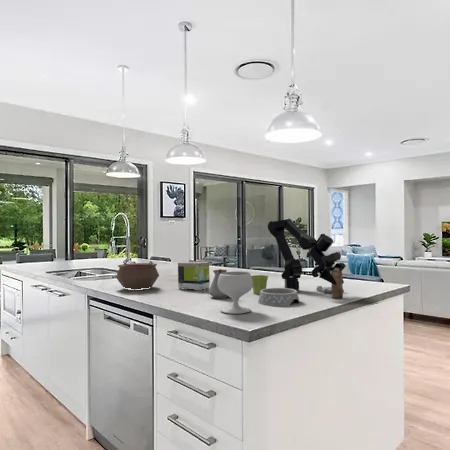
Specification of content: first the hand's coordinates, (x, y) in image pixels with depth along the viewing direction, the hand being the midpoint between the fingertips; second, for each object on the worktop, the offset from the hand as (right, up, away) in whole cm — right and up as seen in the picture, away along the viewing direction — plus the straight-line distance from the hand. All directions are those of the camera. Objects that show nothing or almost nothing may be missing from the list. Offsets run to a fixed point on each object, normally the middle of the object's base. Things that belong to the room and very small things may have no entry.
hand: (339, 283), depth 172 cm
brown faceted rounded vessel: (-101, -10, +42) cm, 110 cm away
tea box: (-69, -9, +38) cm, 79 cm away
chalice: (-48, -8, -22) cm, 53 cm away
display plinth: (+1, -7, +18) cm, 20 cm away
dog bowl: (-28, -8, -5) cm, 30 cm away
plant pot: (-35, -8, +18) cm, 40 cm away
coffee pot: (-54, -8, +5) cm, 55 cm away
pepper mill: (-1, -7, +1) cm, 7 cm away
